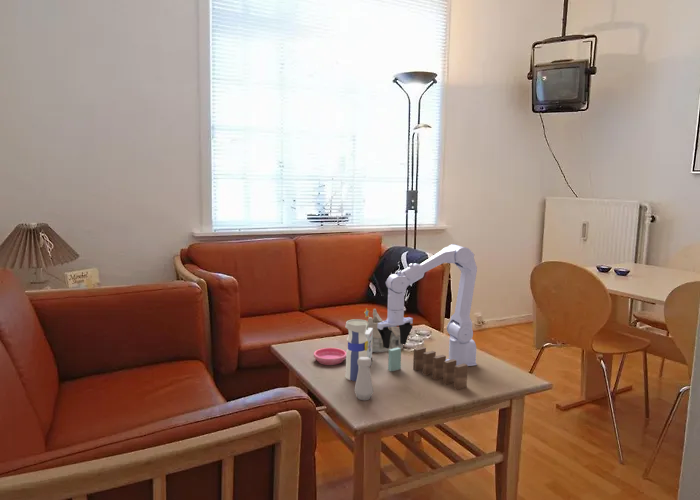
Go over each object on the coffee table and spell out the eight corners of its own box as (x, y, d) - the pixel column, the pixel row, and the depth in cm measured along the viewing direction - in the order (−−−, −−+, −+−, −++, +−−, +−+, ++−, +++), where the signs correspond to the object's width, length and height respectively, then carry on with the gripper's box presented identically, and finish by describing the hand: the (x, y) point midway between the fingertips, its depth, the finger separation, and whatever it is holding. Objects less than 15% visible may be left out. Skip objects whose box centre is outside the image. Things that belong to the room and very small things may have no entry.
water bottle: (371, 373, 187) (372, 303, 183) (366, 382, 179) (367, 309, 175) (348, 370, 189) (348, 302, 185) (342, 380, 181) (342, 308, 177)
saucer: (351, 364, 196) (352, 356, 195) (319, 368, 191) (319, 360, 191) (340, 353, 207) (340, 345, 207) (309, 357, 203) (309, 349, 202)
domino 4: (432, 378, 183) (433, 357, 182) (441, 375, 185) (442, 354, 184) (435, 379, 182) (436, 358, 180) (445, 377, 184) (445, 356, 183)
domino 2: (413, 369, 191) (413, 348, 190) (422, 366, 193) (422, 346, 192) (416, 370, 190) (416, 350, 189) (425, 368, 192) (425, 348, 191)
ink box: (359, 356, 204) (359, 326, 203) (372, 357, 203) (373, 327, 202) (355, 363, 196) (355, 332, 194) (369, 365, 195) (369, 333, 193)
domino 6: (453, 388, 175) (454, 366, 174) (463, 385, 177) (464, 363, 176) (457, 389, 173) (458, 367, 172) (466, 386, 176) (467, 364, 175)
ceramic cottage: (357, 349, 211) (360, 312, 209) (371, 339, 226) (374, 305, 224) (394, 357, 205) (398, 319, 203) (406, 346, 221) (410, 311, 219)
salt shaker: (353, 394, 169) (354, 354, 167) (371, 393, 170) (372, 354, 168) (355, 401, 164) (356, 361, 162) (374, 401, 164) (374, 360, 162)
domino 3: (422, 373, 187) (423, 352, 186) (431, 371, 189) (432, 350, 188) (425, 375, 186) (426, 354, 185) (435, 372, 188) (435, 351, 187)
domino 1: (388, 370, 190) (388, 349, 189) (397, 367, 193) (398, 347, 191) (391, 371, 189) (391, 350, 188) (400, 369, 191) (401, 348, 190)
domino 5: (442, 383, 179) (443, 361, 178) (452, 380, 181) (453, 358, 180) (446, 384, 177) (447, 362, 176) (455, 381, 180) (456, 360, 179)
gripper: (404, 303, 195) (403, 339, 197) (372, 308, 187) (371, 346, 189) (417, 307, 189) (415, 344, 191) (384, 313, 181) (384, 351, 183)
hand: (394, 345), depth 189 cm, fingers open, 7 cm apart
